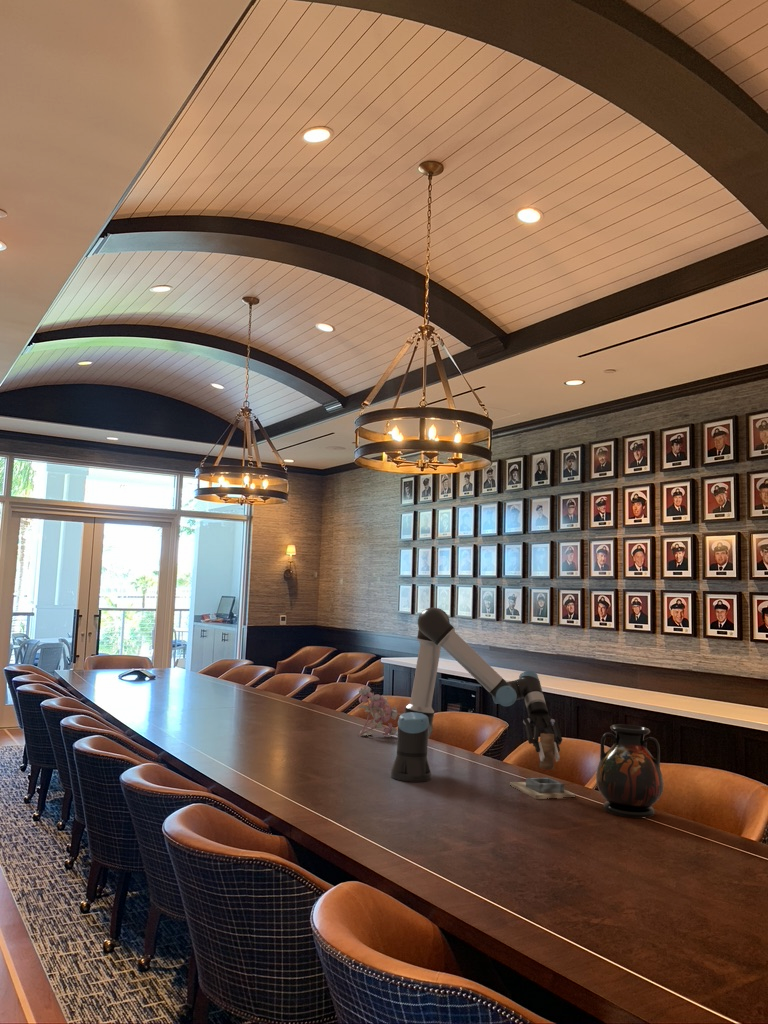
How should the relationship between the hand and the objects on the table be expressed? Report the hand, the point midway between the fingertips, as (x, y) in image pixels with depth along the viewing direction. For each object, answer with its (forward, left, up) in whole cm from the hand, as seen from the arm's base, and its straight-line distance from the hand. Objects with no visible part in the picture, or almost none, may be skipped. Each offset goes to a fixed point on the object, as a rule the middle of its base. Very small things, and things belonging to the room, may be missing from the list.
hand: (550, 759), depth 279 cm
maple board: (0, +6, -13) cm, 14 cm away
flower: (-26, +121, -13) cm, 124 cm away
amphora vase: (+16, -24, -13) cm, 32 cm away
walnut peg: (+1, +4, -4) cm, 5 cm away
